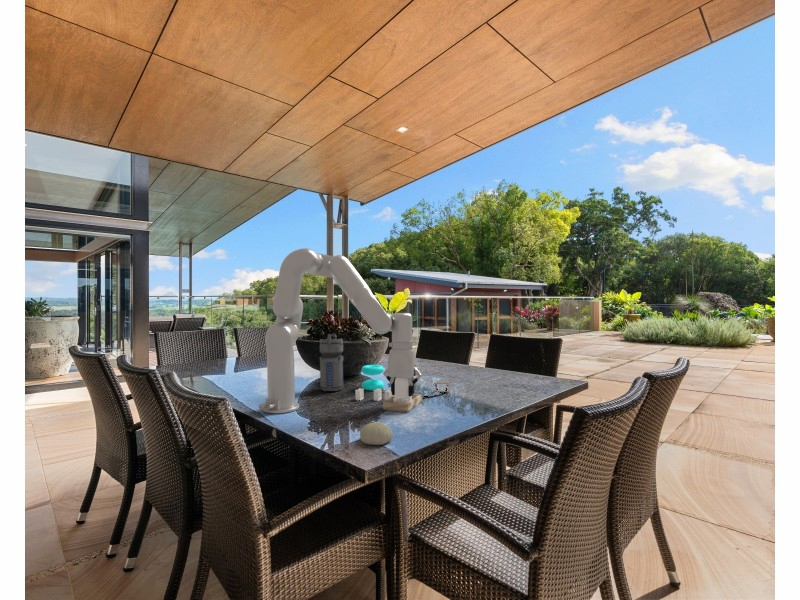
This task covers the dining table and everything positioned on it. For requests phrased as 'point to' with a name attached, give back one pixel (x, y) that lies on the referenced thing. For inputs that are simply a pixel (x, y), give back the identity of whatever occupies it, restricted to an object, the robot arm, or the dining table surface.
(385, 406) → the tan shallow tray
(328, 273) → the robot arm
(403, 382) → the cable organizer
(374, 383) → the donuts
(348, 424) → the dining table surface
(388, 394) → the cable clips
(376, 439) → the sea urchin shell
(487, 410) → the dining table surface
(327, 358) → the beverage bottle
